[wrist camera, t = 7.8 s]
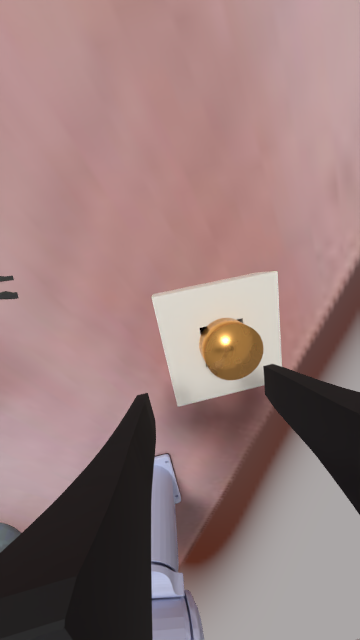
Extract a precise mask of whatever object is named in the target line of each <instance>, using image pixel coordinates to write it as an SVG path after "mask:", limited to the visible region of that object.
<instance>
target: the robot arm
mask: <svg viewBox="0 0 360 640" xmlns="http://www.w3.org/2000/svg"><path fill="white" fill-rule="evenodd" d="M263 370H264V385H265V395H266V396H267V398H268V399H269V401H270V402H271V404H272V405H273V406H274V408H275V409H276V410H277V411H278V413H279V414H280V415H281V416H282V417H283V418H284V420H285V421H286V422H287V423H288V424H289V425H290V426H291V427H292V429H293V430H294V431H295V432H296V433H297V434H298V435H299V436H300V437H301V439H302V440H303V441H304V442H305V443H306V444H307V445H308V446H309V448H310V449H311V450H312V451H313V453H314V454H315V455H316V456H317V457H318V459H319V460H320V461H321V463H322V464H323V465H324V467H325V468H326V469H327V471H328V472H329V473H330V474H331V476H332V477H333V478H334V480H335V481H336V483H337V484H338V485H339V486H340V488H341V489H342V491H343V492H344V493H345V495H346V496H347V498H348V499H349V500H350V502H351V503H352V504H353V506H354V507H355V509H356V510H357V512H358V513H359V514H360V392H356V391H353V390H349V389H345V388H342V387H339V386H336V385H333V384H329V383H326V382H323V381H320V380H317V379H314V378H312V377H308V376H306V375H303V374H300V373H298V372H295V371H292V370H289V369H287V368H284V367H281V366H278V365H275V364H270V365H266V366H263ZM155 444H156V426H155V418H154V414H153V411H152V407H151V403H150V400H149V396H148V393H145V394H141V395H137V397H136V398H135V400H134V402H133V403H132V405H131V406H130V408H129V410H128V411H127V413H126V415H125V416H124V418H123V419H122V421H121V422H120V424H119V425H118V427H117V428H116V430H115V431H114V433H113V434H112V435H111V437H110V438H109V440H108V441H107V442H106V444H105V445H104V446H103V448H102V449H101V450H100V452H99V453H98V454H97V455H96V456H95V458H94V459H93V460H92V461H91V463H90V464H89V465H88V466H87V467H86V468H85V470H84V471H83V472H82V473H81V474H80V475H79V476H78V477H77V478H76V479H75V480H74V482H73V483H72V484H71V485H70V486H69V487H68V488H67V489H66V490H65V491H64V492H63V493H62V494H61V495H60V497H59V498H58V499H57V500H56V501H55V502H54V503H53V504H52V505H51V506H50V507H49V508H48V509H47V510H46V511H45V512H43V513H42V514H41V515H40V516H39V517H38V518H37V519H36V520H35V521H34V522H33V523H32V524H31V525H30V526H29V527H28V528H27V529H26V530H25V531H24V532H23V533H21V534H20V535H19V536H18V537H17V538H16V539H15V540H14V541H13V542H11V543H10V544H9V545H8V546H7V547H6V548H5V549H4V550H3V551H1V552H0V640H204V635H203V628H202V623H201V618H200V615H199V611H198V608H197V605H196V603H195V601H194V599H193V596H192V594H191V592H190V591H189V590H184V580H183V573H178V544H177V528H176V512H175V504H176V503H179V502H181V495H180V492H179V488H178V485H177V481H176V478H175V474H174V470H173V467H172V463H171V460H170V456H169V455H168V454H164V455H160V456H156V457H155ZM357 640H360V639H357Z"/></svg>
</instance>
